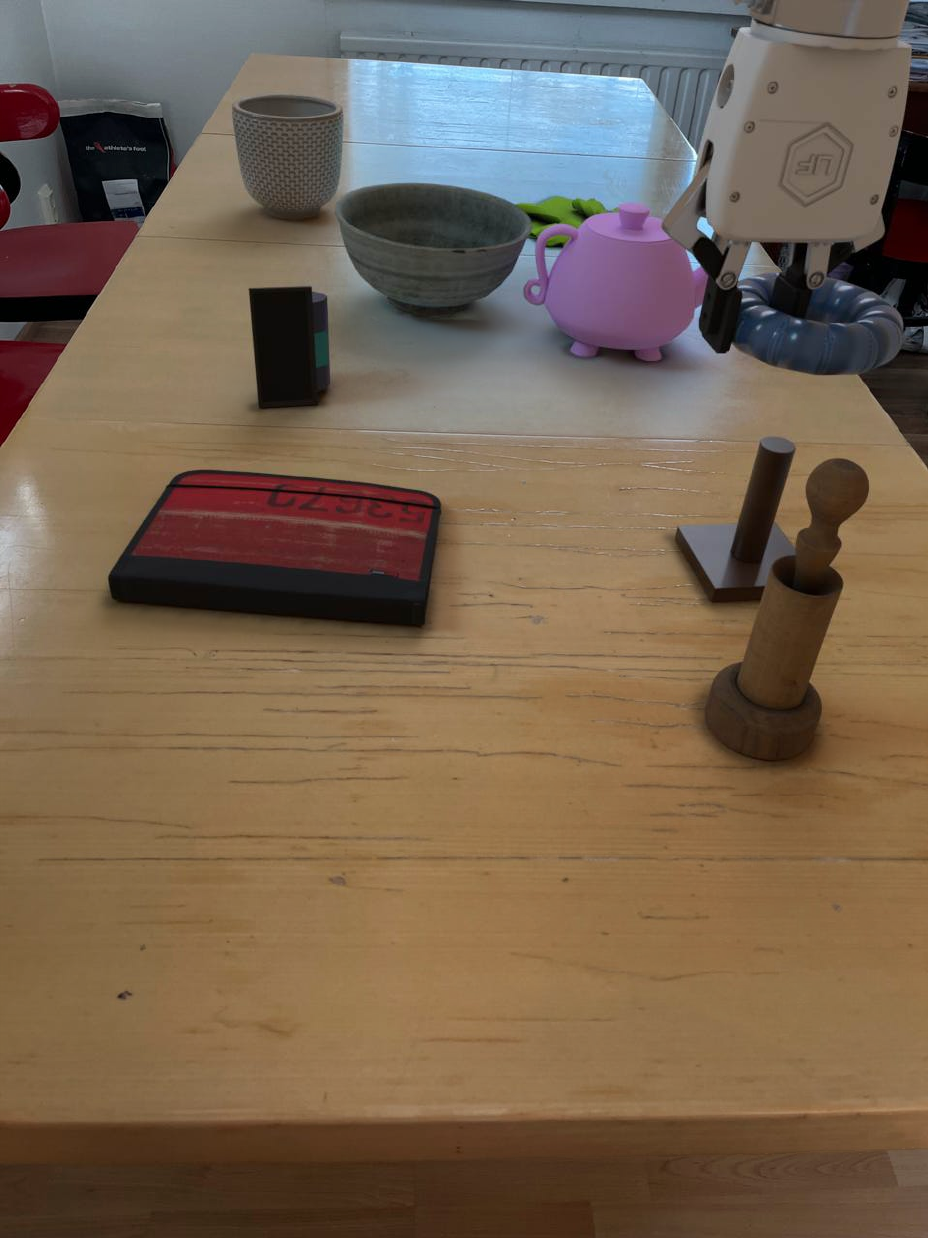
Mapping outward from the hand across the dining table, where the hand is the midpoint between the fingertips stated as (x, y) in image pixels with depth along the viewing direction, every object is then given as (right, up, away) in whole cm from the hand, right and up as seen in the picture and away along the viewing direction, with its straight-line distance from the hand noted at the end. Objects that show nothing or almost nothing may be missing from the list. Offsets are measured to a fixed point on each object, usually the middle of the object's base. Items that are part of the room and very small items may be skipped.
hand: (746, 341), depth 63 cm
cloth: (-3, +37, +75) cm, 84 cm away
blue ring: (+4, +1, 0) cm, 4 cm away
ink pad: (-30, -12, +10) cm, 34 cm away
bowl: (-21, +18, +49) cm, 56 cm away
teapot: (-1, +12, +43) cm, 45 cm away
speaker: (-34, +4, +30) cm, 45 cm away
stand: (+3, -14, +11) cm, 18 cm away
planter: (-41, +37, +71) cm, 90 cm away
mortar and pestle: (0, -24, -2) cm, 24 cm away
